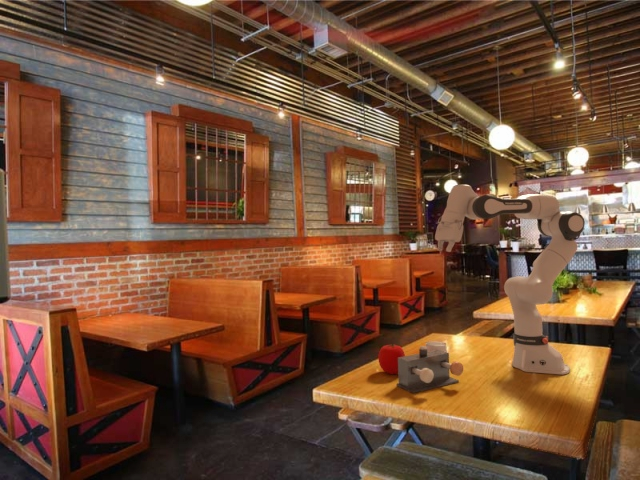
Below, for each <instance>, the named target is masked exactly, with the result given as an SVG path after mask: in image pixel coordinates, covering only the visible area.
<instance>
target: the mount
mask: <svg viewBox="0 0 640 480" xmlns="http://www.w3.org/2000/svg"><path fill="white" fill-rule="evenodd" d="M441 361H444V362H447V363H450V353H449V352H448V351H447V352H444V351H441V350H435V351H430V352H428V356H420V355H419V353H415V354H409V355H405V356H404V357H399V358H398V374H397V375H398V383H396V387H399V388H400V389H403V390H405V391H407V392H409V393H411V394H417V393H421V392H425V391H429V390H433V389H436V388H441V387H445V386H449V385H453V384H457V383H458V384H459V383H460V382H459V380H458V379H456V378H454V377H451V375H450V369H449V368H446V367H443V366H441ZM411 367H414V368H416V369H419V370H422V369H423V368H428V369H430V370H432V371H433V374H434V377H433V380H432V381H431V382H430V383H426V382H424V381H422V380H421V379H420V375H417V374H415V373H412V372H411Z"/></svg>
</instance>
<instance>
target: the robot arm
mask: <svg viewBox="0 0 640 480" xmlns="http://www.w3.org/2000/svg"><path fill="white" fill-rule="evenodd" d="M500 215H514V216H515V217H516V218H517V219H521V220H522V219H523V220H536V221H537V222H536V225H537V230H538V231H539V233H540V234H541V235H543V236H544V237H545V236H546V237H549V238H550V237H551V240H550V242H549V244H548V245H547V246H546V247H544V250H542V251H541V253H540V254H539V255H538V256H537V258H536V259H535V260H534V261H533V263H532V271H531V272H530V274H529V275H528V276H519V275H517V276H514V277H509V278H507V280H506V281H505V282H504V285H503V289H504V292H505V294H506V296H507V298H508V300H509V303H510V306H511V309H512V312H513V314H512V315H513V322H514V323H513V325H514V326H513V327H514V333H513V346H514V351H513V357H512V362H511V366H512V367H514V368H516V369H519V370H521V371H523V372H525V373H537V374H539V373H540V374H549V375H560V376H561V375H567V374H568V373H570V371H571V369H570V368H571V367H570V366H569V365H568V364H566V363H564V362H565V361H564V358H563V355H562V353H561V352H560V351H559V350H557V349H556V348H554V347H553V346H552V345H550V344H549V338H548V337H549V336H548V335H545V334H543V317H542V315H541V313H540V311H538V309H537V305H545V304H548V303H549V302H550V301H551V300H552V297H553V294H554V293H553V285H554V283H555V281H556V279H557V278H558V276H559V275H560V273H562V271H564V269H565V268H566V267H567V265H568V264H570V262H571V260H572V259H573V258H574V256H575V254H576V252H577V251H578V243H577V242H576V240H578V239H579V238H580V237H581V233H582V232H583V231H584V229H585V224H586V223H585V218H584V217H583V215H582V214H580V213H579V212H576V211H561V209H560V202H559V200H558V199H557V197H556V196H553V195H549V194H548V195H547V194H541V193H535V194H534V193H532V194H531V193H530V194H523V195H518V196H516V197H515V198H500V197H497V196H495V195H494V194H493V195H492V194H489V193H487V194H483V195H481V196H479V195H478V194H477V193H476V192H475V191H474V190H473V188H472V186H471V185H469V184H456V185H454V186H452V188H451V189H450V192H449V194H448V198H447V201H446V207H445V209H444V211H443V214H442V215H441V216H440V217H439V218H438V221H437V227H436V231H435V235H434V240H436V241H437V251H439V252H442V251H443V248H444V247H443V246H444V243H445V242H446V243H447V242H448V244H447V246H446V248H445V252H449V253H451V252H452V249H453V247H454V245H455V244H456V243H460V242H461V240H462V237H463V232H464V225H463V224H464V222H465V217H466V218H467V219H470V220H473V221H474V220H476V221H477V220H492V219H493V218H496V217H499V216H500Z"/></svg>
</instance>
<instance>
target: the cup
mask: <svg viewBox="0 0 640 480" xmlns="http://www.w3.org/2000/svg"><path fill="white" fill-rule="evenodd" d="M425 346H426V349H427V352H430V351H435V350H441V351H444V352H447V353H448V349H447V342H445V341H440V340H439V341H438V340H434V341H433V340H432V341H431V340H430V341H427V342H425Z"/></svg>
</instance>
